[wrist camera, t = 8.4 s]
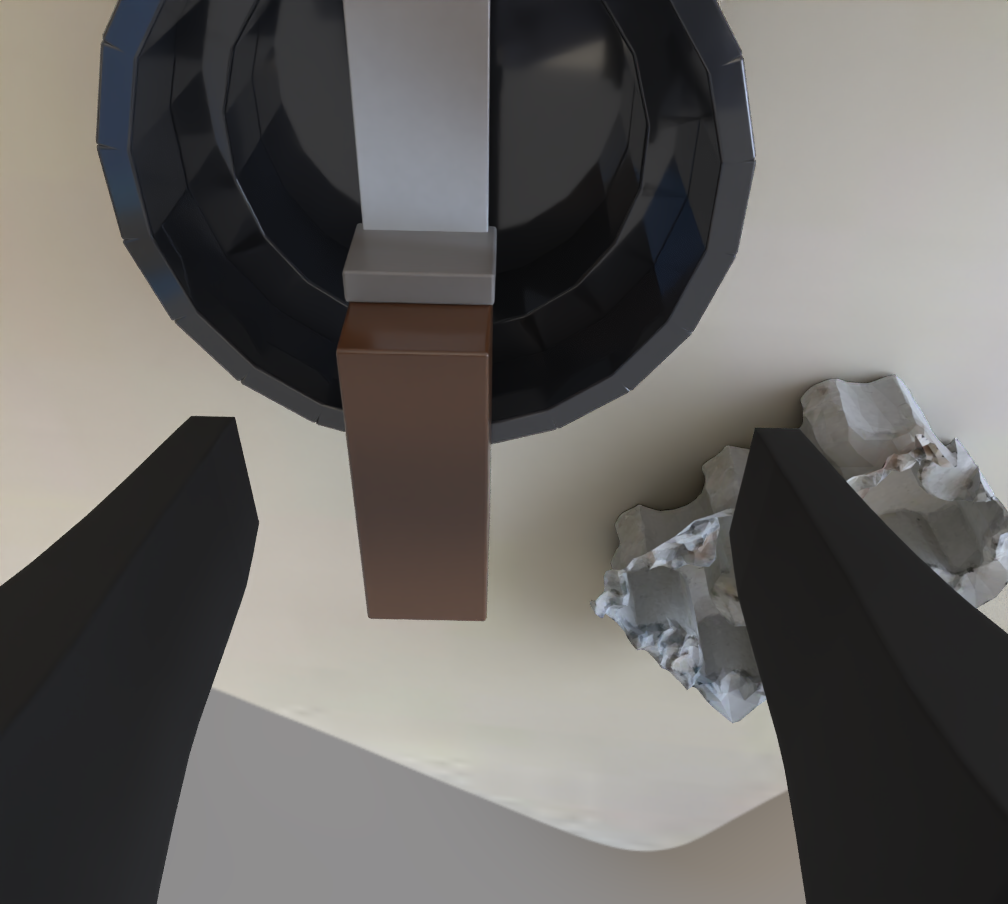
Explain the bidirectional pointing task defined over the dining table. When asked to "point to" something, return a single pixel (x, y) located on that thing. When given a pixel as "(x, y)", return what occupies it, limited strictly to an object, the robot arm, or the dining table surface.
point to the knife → (420, 306)
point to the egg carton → (707, 520)
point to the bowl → (512, 187)
